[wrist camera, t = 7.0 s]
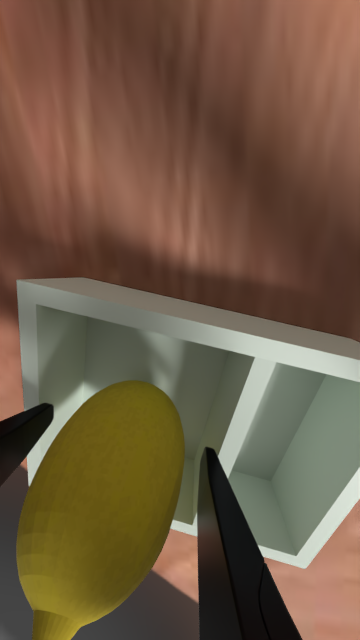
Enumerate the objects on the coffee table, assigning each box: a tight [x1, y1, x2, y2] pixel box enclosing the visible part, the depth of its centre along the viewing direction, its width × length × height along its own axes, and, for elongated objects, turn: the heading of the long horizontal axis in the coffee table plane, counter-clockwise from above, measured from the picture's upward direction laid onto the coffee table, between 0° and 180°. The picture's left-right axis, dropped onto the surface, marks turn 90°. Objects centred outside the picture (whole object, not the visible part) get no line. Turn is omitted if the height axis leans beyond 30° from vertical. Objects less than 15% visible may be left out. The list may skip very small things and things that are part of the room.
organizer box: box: [17, 277, 360, 569], centre depth 10 cm, size 16×12×4 cm
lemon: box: [16, 380, 185, 640], centre depth 8 cm, size 6×6×8 cm
